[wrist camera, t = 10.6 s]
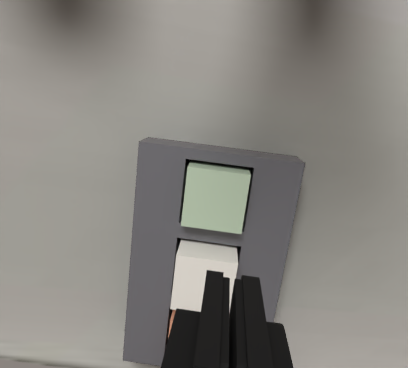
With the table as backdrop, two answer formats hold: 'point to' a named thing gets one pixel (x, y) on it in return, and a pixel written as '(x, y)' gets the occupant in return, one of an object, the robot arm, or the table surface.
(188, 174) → the sage key
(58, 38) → the table surface
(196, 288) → the cream key
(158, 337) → the keypad
